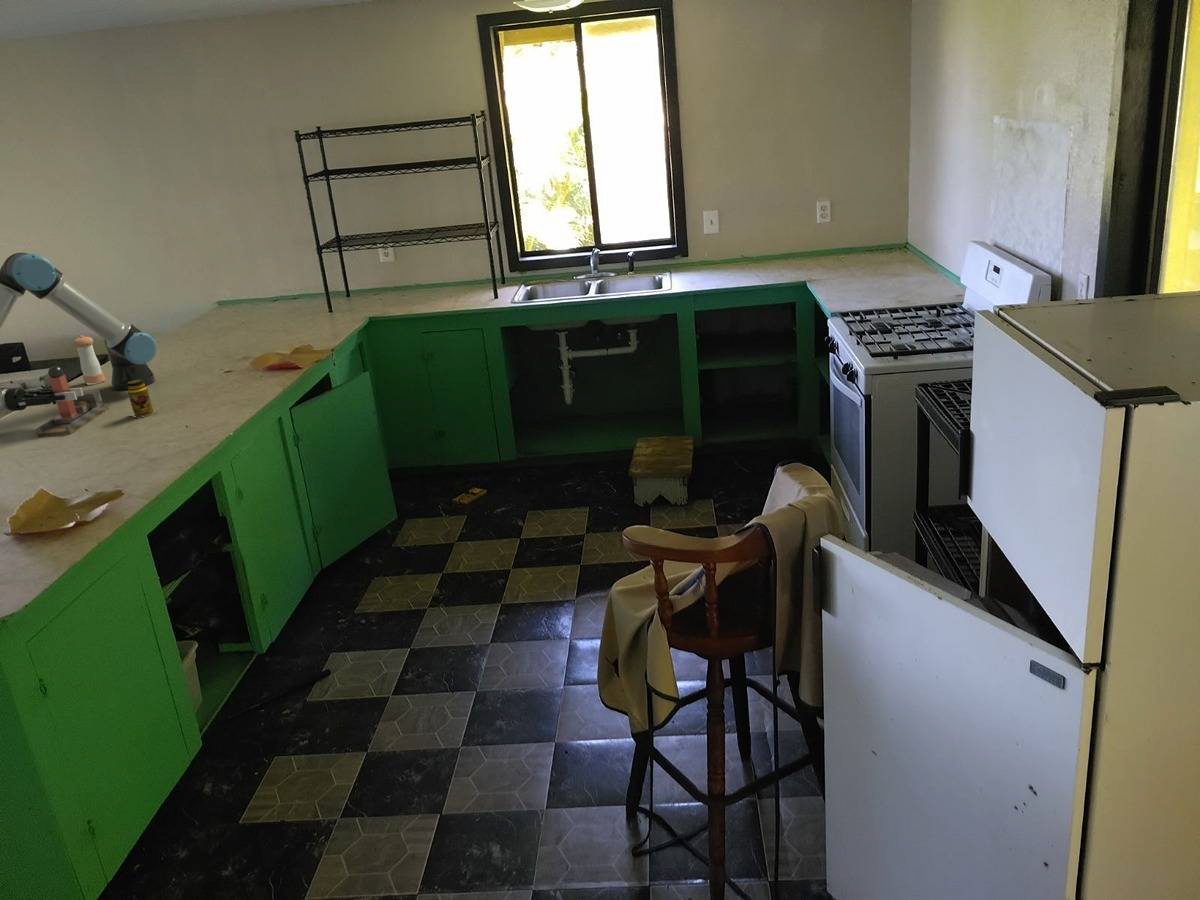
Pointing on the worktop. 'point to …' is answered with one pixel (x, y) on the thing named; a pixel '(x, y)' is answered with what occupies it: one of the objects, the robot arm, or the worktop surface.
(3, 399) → the robot arm
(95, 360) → the pepper shaker
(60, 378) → the handle carriage
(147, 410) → the condiment
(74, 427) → the press base
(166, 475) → the worktop surface
